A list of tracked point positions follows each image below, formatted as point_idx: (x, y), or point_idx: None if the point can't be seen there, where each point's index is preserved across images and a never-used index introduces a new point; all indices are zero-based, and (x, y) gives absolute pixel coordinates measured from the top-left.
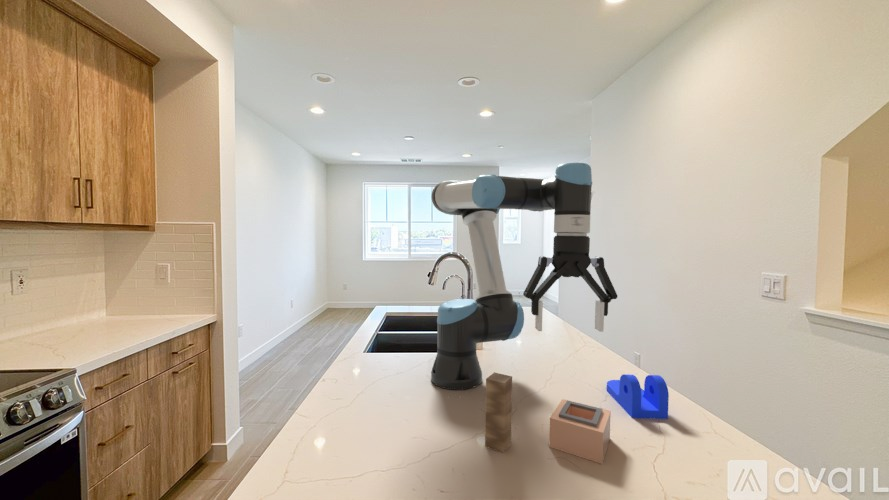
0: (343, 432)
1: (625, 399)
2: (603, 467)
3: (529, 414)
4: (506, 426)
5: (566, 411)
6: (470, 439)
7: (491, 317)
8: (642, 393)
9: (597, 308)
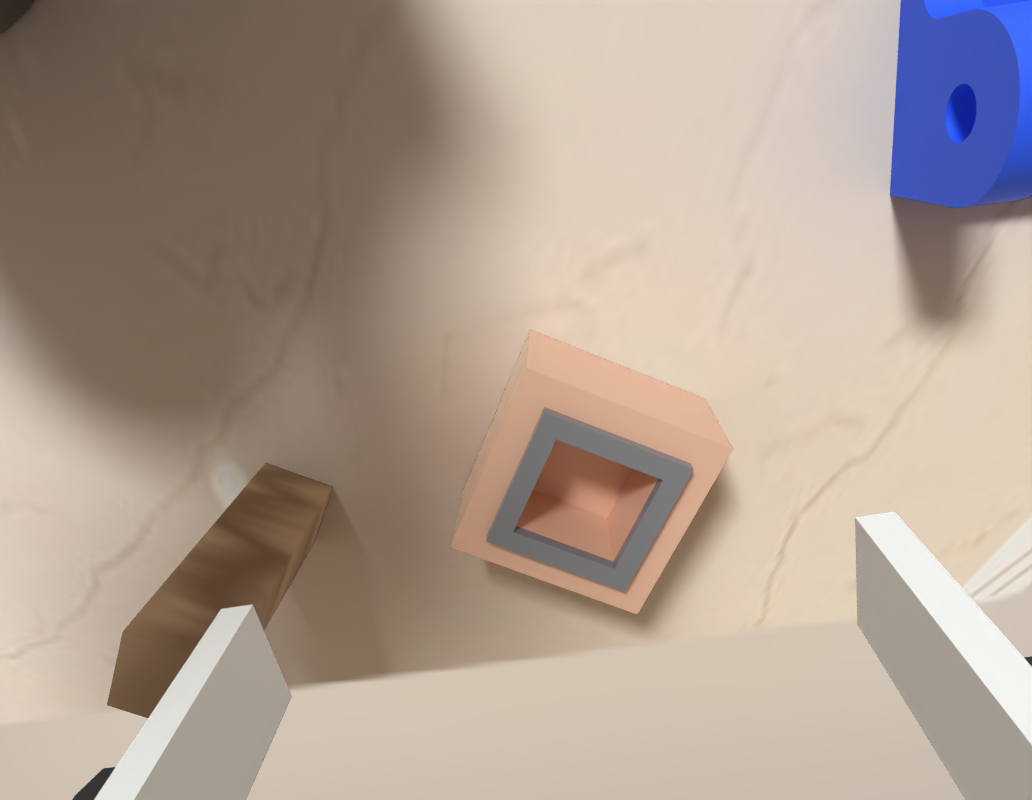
0: None
1: (926, 115)
2: None
3: (391, 260)
4: (292, 572)
5: (523, 508)
6: (190, 488)
7: None
8: None
9: (998, 769)
